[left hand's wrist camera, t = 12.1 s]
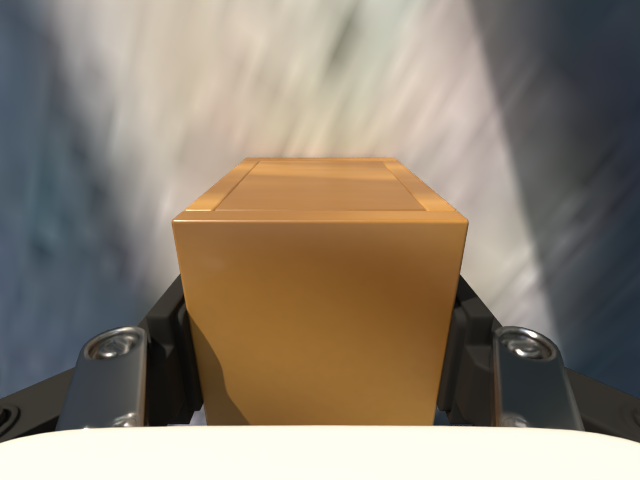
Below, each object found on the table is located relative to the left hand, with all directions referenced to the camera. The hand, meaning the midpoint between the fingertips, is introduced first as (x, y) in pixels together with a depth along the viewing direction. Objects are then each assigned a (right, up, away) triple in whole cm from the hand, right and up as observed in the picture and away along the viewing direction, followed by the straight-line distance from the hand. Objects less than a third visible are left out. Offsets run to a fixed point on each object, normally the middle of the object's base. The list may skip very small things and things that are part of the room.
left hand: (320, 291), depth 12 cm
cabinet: (0, -3, +6) cm, 7 cm away
